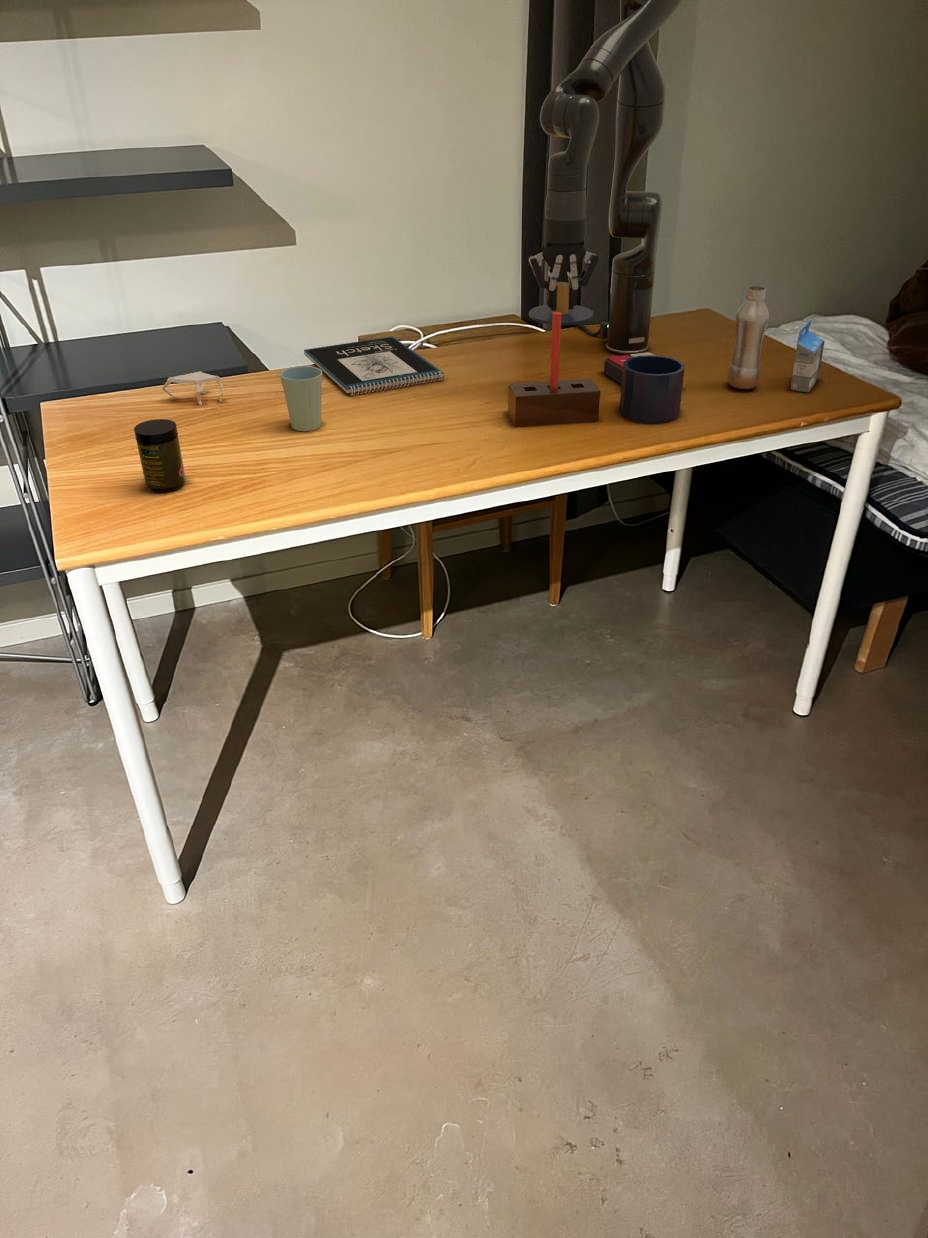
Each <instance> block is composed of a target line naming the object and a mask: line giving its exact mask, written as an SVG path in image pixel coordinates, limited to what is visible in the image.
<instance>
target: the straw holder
mask: <svg viewBox="0 0 928 1238" xmlns="http://www.w3.org/2000/svg"><path fill="white" fill-rule="evenodd" d="M507 385H508V387H507V388H508V389H507V391H508V392H507V414H508V416H509V418H510V420H511V422H512V424H513V426H514V427H515V428H519V427H531V426H532V427H533V426H547V425H548V426H549V425H563V424H576V423H577V424H578V423H591V422H599V415H600V400H601V390H600V389H599V387H598V386H597V384H596V383H595V382H594V381H593V380H592V378H577V379H561V380H560V379H559V380H558V389H554V390H550V380H548V381H547V380H546V381H531V382H530V381H529V382H528V381H527V382H514V383H513V382H512V383H508V384H507Z"/></svg>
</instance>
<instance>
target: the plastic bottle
mask: <svg viewBox="0 0 928 1238" xmlns="http://www.w3.org/2000/svg"><path fill="white" fill-rule="evenodd" d="M766 293H767V288H766V287H765V286H761V285H750V286H747V288H746V293H745V299H746V300H745V301H744V302H743V303H742V304H741V305H740V307H739V308H738V309H737V312H736V314H735V342H734V348H733V353H732V357H731V361H730V364H729V367H728V370H727V382H728V384H729V386H730V387H732V388H734V389H738V390H750V389H751V390H752V389H754V388H755V387H756V386H757V385H758V383H759V381H760V378H761V357H762V356H761V354H762V353H761V352H762V346H763V342H764V336H765V333H766V330H767V327H768V323H769V320H770V311H769V309H768V307H767V305H766V303H765V300H766Z"/></svg>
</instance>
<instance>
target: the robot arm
mask: <svg viewBox="0 0 928 1238" xmlns="http://www.w3.org/2000/svg"><path fill="white" fill-rule="evenodd" d="M682 2H683V0H619V14H620V17H619V18H620V19H619V20H620V21H619V23H617V24H616V25H614V26H613V27H611V28H610V29H608V30H606V32H605V31H604V33H603V34H602V35H601V36H599V37H598V38H597V39H596V40H595V41H594V42H593V44H592V45H591V46H590V47H589V49H588V51H587V52H586V54H585V55H584V57H583V58H582V60H581V61H580V63H579V64H578V66H577V67H576V69H574V71H572V72H571V73H570V74H568V75H567V76H566V77H565V78H564V79H563V80H562V81H560V82H559V83H558V84H557V85H555V87H554V88H553V89H552V90H550V92H549V93H548V94H547V96H546V98H545V99H544V101H543V103H542V105H541V109H540V114H539V122H540V126H541V128H542V130H543V131H544V133H545V134H546V135H549V136H551V137H554V138H555V137H556V138H564V139H565V138H566V139H569V143H568V144H567V145H568V146H567V148H566V150H564V151H559V152H554V153H553V154H551V155H550V157H549V159H548V164H547V165H548V166H547V188H546V189H547V190H546V195H545V196H546V197H545V198H546V199H545V206H544V207H545V209H544V238H543V241H544V242H543V246H542V248H541V251H540V252H539V253H537V254H535V255H529V256H528V258H527V260H528V263H529V265H530V268H531V271H532V272H533V275H534V278H535V280H536V283H537V285H538V286H539V287H540V288H541V289H545V290H546V305H547V306H548V307H550V309H551V310H555V308H556V291H555V287H556V283H557V282H558V280H559V276H560V273H564V272H566V274H567V277H568V278H567V279H568V283H570V301H569V309H573V308H574V306H576V305H577V303H578V291H579V288H582V287H587V285H588V283H589V281H590V279H591V277H592V274H593V272H594V271H595V269H596V266H597V264H598V262H599V259H600V257H599V256H598V255H597V254H596V253H595V252H589V251H587V248H586V245H585V238H586V237H585V236H586V219H587V217H586V216H587V211H588V209H587V173H588V163H589V160H590V157H591V153H592V149H593V146H594V142H595V140H596V136H597V132H598V129H599V127H600V126H599V125H600V120H601V113H600V107H599V104H598V102H600V101H602V100H604V99H605V98H606V97H607V95H608V94H609V93H610V91H611V90H612V89H613V87H614V86H615V84H616V82H617V81H618V90H617V100H616V116H615V118H616V119H615V149H614V165H613V167H614V168H613V174H612V182H611V183H612V184H611V193H610V201H609V209H608V230H609V233H610V235H611V236H612V237H613V238H617V239H638V240H641V239H642V242H641V243H640V244H639V245H637V246H635V247H634V248H631V249H629V250H626V251H623V252H621V253H618V254H616V255H615V256H614V257H613V259H612V264H611V265H612V266H611V279H610V294H609V295H610V296H609V310H608V320H607V321H600V325H599V329H598V330H597V331H596V332H591V331H590V330H589V328H587V326H586V325H584V323H581V324H575V325H573V326H575V327H578V328H580V329H582V330H583V331H584V332H585V333H586V334H587V335H589V336H591V337H598V336H599V337H600V338H601V339H602V340H606V343H605V349H606V350H607V351H608V352H611V353H614V354H617V355H628V356H630V355H631V354H639V353H647V351H648V350H649V339H650V338H649V336H650V328H651V327H650V326H651V317H652V308H653V307H652V306H653V296H654V295H653V293H654V286H655V285H654V284H655V283H654V282H655V272H656V260H657V248H658V240H659V234H660V227H661V220H662V213H663V200H662V196H661V194H660V193H659V192H657V191H643V190H642V191H641V190H640V191H639V190H637V191H636V190H631V191H630V190H627V188H628V185H629V183H630V180H631V177H632V175H633V174H634V172H635V170H636V168H637V166H638V165H639V163H640V161H641V160H642V158H643V157H644V156H645V154H646V153H647V152H648V150H649V149H650V148H651V146H652V145H653V143H654V142H655V141H656V139H657V137H658V136H659V134H660V132H661V131H662V127H663V124H664V116H665V115H664V114H665V106H666V105H665V104H666V84H665V81H664V78H663V75H662V73H661V70H660V68H659V65H658V62H657V60H656V58H655V56H654V53H653V51H652V48H651V45H650V41H649V40H650V39H651V38H653V36H654V35H655V34H656V33H657V32H658V31H659V30H660V28H662V26H663V25H664V24H665V23H666V22H667V21H668V20H669V19H670V18H671V17H672V15H673V14H674V13H675V12H676V11H677V10H678V8H679V7H680V5H681V4H682ZM583 259H584V263H585V264H584V266H583V268H582V270H581V272H580V275H579V274H578V266H579V265H580V263H581V262H582V261H583ZM543 260H544V261H545V263H546V264H547V265H548V271H547V279H545V277H544V274H543V272H542V269H541V267H542V266H543Z"/></svg>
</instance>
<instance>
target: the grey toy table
mask: <svg viewBox="0 0 928 1238" xmlns="http://www.w3.org/2000/svg"><path fill="white" fill-rule="evenodd" d="M212 382H216V383H217V385H218V386H219V388H220V391H221V392H222V393H221V394H219V395H218V396H217V399H218V400H219V402H220V403H222V402H223V400H222V399H221V397H222V396H224V395H225V394H226V392H225V389H224V386H223V383H222V380H221V377H220V376H218V375H214V374H209V373H205V372H203V371H202V370H200V371H195V372H190V373H185V374H181V375H176V376H170V377H168V378H167V380H166V382H165V383H164V384H163V386H162V387H161V390H162V391H163V392H164V393H166V394H167V395H168V396H169V397H170V398H171V400H172V401H175V400H176V397H175V396H174V395H173V394H172V393H171V392H170V391H169V390H167V389H166V388H167V387H169V385H171V383H174V384H175V383H176V384H186V385H187V384H188V385H189V384H190V385H195V395H196V399H197V402H198V403H197V404H198V405H200V406H201V405H203V402H202V397H201V396H202V395H204V394H207V391H203V390H204V387H205V385H206V383H212ZM201 394H202V395H201Z"/></svg>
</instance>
